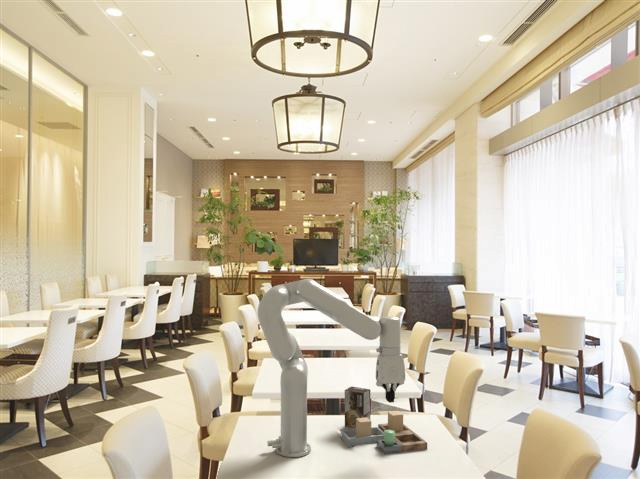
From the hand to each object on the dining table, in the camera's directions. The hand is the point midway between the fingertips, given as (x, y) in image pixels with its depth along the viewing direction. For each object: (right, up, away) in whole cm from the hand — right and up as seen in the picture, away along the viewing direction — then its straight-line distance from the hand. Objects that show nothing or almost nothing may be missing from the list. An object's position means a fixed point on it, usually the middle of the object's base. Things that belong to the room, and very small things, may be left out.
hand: (390, 401), depth 178 cm
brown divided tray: (+6, -18, +9) cm, 21 cm away
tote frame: (-9, -18, +9) cm, 22 cm away
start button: (0, -16, 0) cm, 16 cm away
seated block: (+4, -18, +14) cm, 23 cm away
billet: (-9, -18, +9) cm, 22 cm away
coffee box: (-10, -19, +21) cm, 30 cm away
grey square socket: (0, -18, 0) cm, 18 cm away
